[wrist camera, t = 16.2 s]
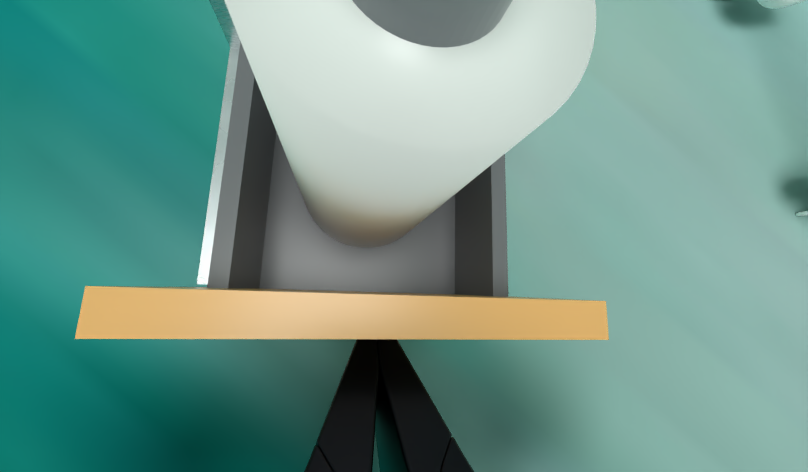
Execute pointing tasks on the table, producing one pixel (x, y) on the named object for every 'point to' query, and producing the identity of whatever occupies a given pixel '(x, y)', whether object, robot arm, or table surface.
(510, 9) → the bottle
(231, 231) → the grey and tan box
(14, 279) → the table surface
